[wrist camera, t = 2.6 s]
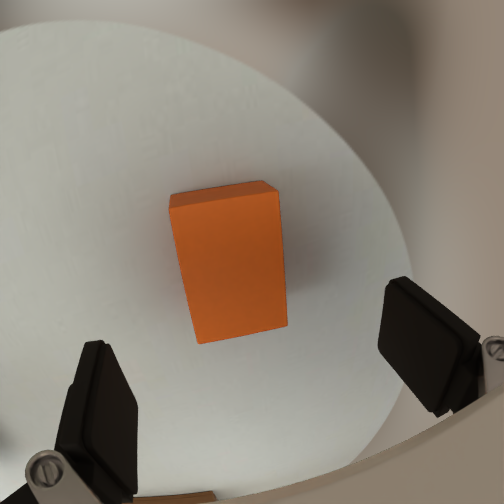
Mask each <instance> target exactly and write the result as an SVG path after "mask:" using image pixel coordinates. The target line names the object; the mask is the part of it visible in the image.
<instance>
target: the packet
mask: <svg viewBox="0 0 504 504" xmlns="http://www.w3.org/2000/svg"><path fill="white" fill-rule="evenodd" d="M169 214H170V220H171V225H172V230H173V235H174V241H175V246H176V251H177V255H178V260H179V265H180V270H181V274H182V279H183V284H184V288H185V292H186V297H187V301H188V306H189V310H190V314H191V318H192V322H193V326H194V330H195V334H196V338H197V342H198V344H203V343H208V342H214V341H219V340H224V339H229V338H234V337H239V336H244V335H249V334H254V333H258V332H263V331H267V330H272V329H276V328H281V327H285V326H287V325H288V321H287V303H286V287H285V271H284V256H283V242H282V228H281V215H280V202H279V192H278V190H276V189H275V188H273V187H272V186H270V185H268V184H267V183H265V182H264V181H255V182H248V183H241V184H234V185H227V186H221V187H215V188H208V189H202V190H196V191H190V192H184V193H179V194H173V195H171V196H170V203H169Z"/></svg>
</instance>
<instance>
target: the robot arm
mask: <svg viewBox="0 0 504 504" xmlns="http://www.w3.org/2000/svg"><path fill="white" fill-rule="evenodd" d="M479 339H480V335H479V334H478V333H477V332H476V331H475V330H473V329H472V328H471V327H470V326H469V325H467V324H466V323H465V322H464V321H462V320H461V319H460V318H459V317H458V316H456V315H455V314H454V313H453V312H451V311H450V310H449V309H448V308H446V307H445V306H444V305H443V304H441V303H440V302H439V301H437V300H436V299H435V298H434V297H432V296H431V295H430V294H429V293H427V292H426V291H425V290H423V289H422V288H421V287H419V286H418V285H417V284H416V283H414V282H413V281H412V280H410V279H409V278H408V277H406V276H402V277H399V278H395V279H392V280H390V281H389V284H388V285H387V286H386V288H385V295H384V304H383V311H382V318H381V325H380V332H379V338H378V350H379V352H380V353H381V355H382V356H383V357H384V358H385V359H386V361H387V362H388V363H389V364H390V365H391V367H392V368H393V369H394V370H395V371H396V373H397V374H398V375H399V376H400V377H401V379H402V380H403V381H404V382H405V384H406V385H407V386H408V387H409V388H410V390H411V391H412V392H413V393H414V394H415V396H416V397H417V398H418V399H419V401H420V402H421V403H422V404H423V406H424V407H425V408H426V409H427V410H428V411H429V412H433V413H434V414H435V416H436V417H437V418H438V417H440V416H442V415H444V414H445V413H447V412H448V411H449V410H450V409H451V410H452V411H453V415H452V416H450V417H448V418H446V419H445V420H443V421H441V422H440V423H438V424H436V425H434V426H432V427H431V428H429V429H427V430H425V431H423V432H421V433H419V434H418V435H416V436H414V437H412V438H410V439H408V440H406V441H404V442H402V443H399V444H397V445H395V446H393V447H391V448H389V449H387V450H384V451H382V452H380V453H378V454H376V455H373V456H371V457H368V458H366V459H364V460H361V461H359V462H356V463H354V464H351V465H349V466H346V467H343V468H341V469H338V470H335V471H332V472H329V473H327V474H324V475H321V476H318V477H315V478H311V479H308V480H305V481H302V482H298V483H295V484H291V485H288V486H284V487H281V488H277V489H273V490H269V491H265V492H261V493H256V494H252V495H247V496H242V497H237V498H232V499H227V500H221V501H215V502H208V503H201V504H504V337H500V336H491V337H488V338H486V339H485V340H484V341H483V343H482V345H481V344H480V343H479ZM137 432H138V405H137V401H136V399H135V397H134V395H133V393H132V391H131V389H130V387H129V385H128V383H127V381H126V379H125V376H124V374H123V372H122V370H121V368H120V366H119V363H118V361H117V359H116V357H115V354H114V352H113V350H112V348H111V346H110V344H105V343H104V341H103V340H97V341H90V342H86V343H85V344H84V347H83V350H82V354H81V357H80V360H79V364H78V367H77V371H76V374H75V378H74V381H73V384H71V385H70V387H69V389H68V392H67V396H66V400H65V404H64V408H63V412H62V416H61V420H60V424H59V429H58V433H57V438H56V443H55V448H54V450H44V451H41V452H38V453H36V454H35V455H34V456H33V457H31V459H30V460H29V462H28V463H27V466H26V469H25V477H26V480H27V483H26V484H24V485H23V486H22V487H20V488H19V489H18V490H17V491H15V492H14V493H13V494H11V495H10V496H9V497H7V498H6V499H5V500H3V501H2V502H0V504H122V503H133V494H137V492H138V479H137Z"/></svg>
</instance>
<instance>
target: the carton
mask: <svg viewBox="0 0 504 504" xmlns="http://www.w3.org/2000/svg"><path fill="white" fill-rule="evenodd" d="M215 501H218V500H217V499H216V497H215V495H214V493H213V491H208V492H200V493H192V494H183V495H172V496H159V497H137V498H133V503H122V504H201V503H208V502H215Z"/></svg>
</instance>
